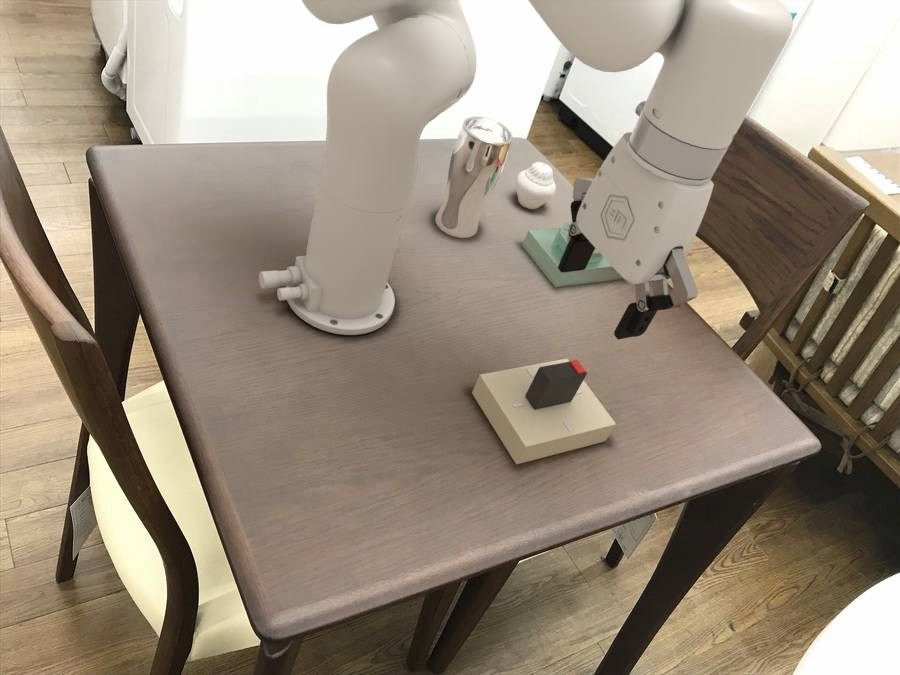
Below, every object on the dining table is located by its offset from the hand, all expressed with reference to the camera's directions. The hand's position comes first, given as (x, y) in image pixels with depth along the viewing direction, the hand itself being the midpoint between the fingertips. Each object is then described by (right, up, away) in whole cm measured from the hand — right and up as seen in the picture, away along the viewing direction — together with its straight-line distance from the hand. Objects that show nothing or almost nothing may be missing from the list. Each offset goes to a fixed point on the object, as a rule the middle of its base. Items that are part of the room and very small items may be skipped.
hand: (597, 301), depth 74 cm
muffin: (-2, +17, +43) cm, 46 cm away
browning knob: (-4, -10, +8) cm, 13 cm away
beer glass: (-13, +12, +33) cm, 38 cm away
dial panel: (-5, -12, +10) cm, 16 cm away
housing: (+3, +7, +34) cm, 35 cm away
